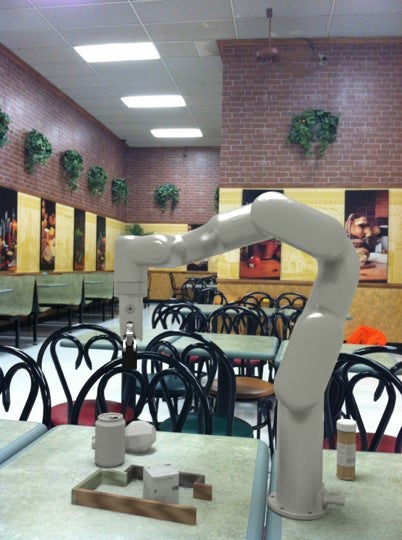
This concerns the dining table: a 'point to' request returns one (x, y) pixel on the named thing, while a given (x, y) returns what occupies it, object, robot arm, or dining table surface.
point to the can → (110, 440)
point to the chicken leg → (137, 436)
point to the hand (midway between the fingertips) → (129, 365)
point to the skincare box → (161, 483)
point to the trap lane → (139, 506)
